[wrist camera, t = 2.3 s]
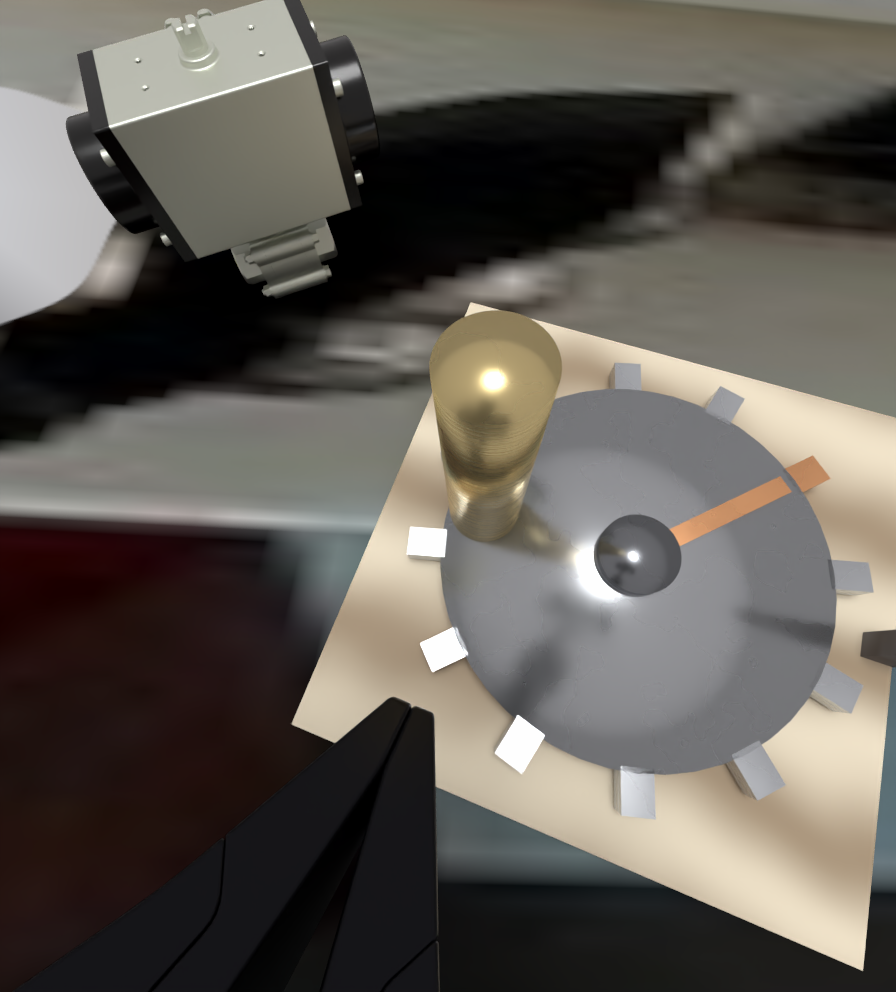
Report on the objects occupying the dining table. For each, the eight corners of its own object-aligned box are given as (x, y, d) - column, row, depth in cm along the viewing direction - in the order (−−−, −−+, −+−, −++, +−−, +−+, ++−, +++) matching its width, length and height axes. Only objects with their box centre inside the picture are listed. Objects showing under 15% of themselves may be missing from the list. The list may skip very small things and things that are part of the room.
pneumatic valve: (403, 269, 29) (358, 13, 18) (206, 335, 28) (25, 111, 17) (373, 202, 31) (315, -70, 19) (187, 262, 30) (12, 15, 18)
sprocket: (819, 893, 18) (1442, 1303, 6) (346, 697, 20) (191, 738, 9) (874, 442, 23) (1268, 226, 12) (491, 335, 26) (507, 75, 14)
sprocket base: (842, 954, 18) (911, 1008, 15) (299, 721, 21) (273, 730, 19) (897, 432, 24) (954, 401, 21) (470, 314, 28) (470, 274, 25)
